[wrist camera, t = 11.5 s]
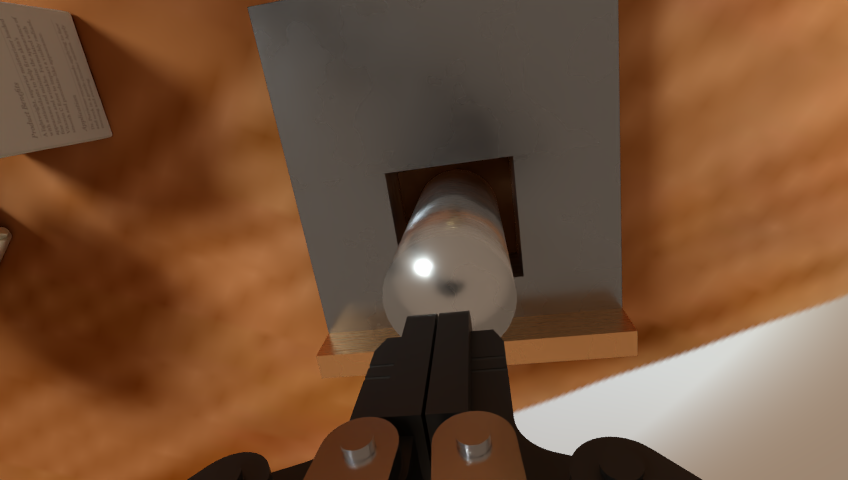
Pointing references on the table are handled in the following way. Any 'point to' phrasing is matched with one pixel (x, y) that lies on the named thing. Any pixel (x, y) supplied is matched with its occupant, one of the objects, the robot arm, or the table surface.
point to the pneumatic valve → (4, 240)
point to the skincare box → (45, 83)
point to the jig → (455, 153)
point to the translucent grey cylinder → (453, 257)
